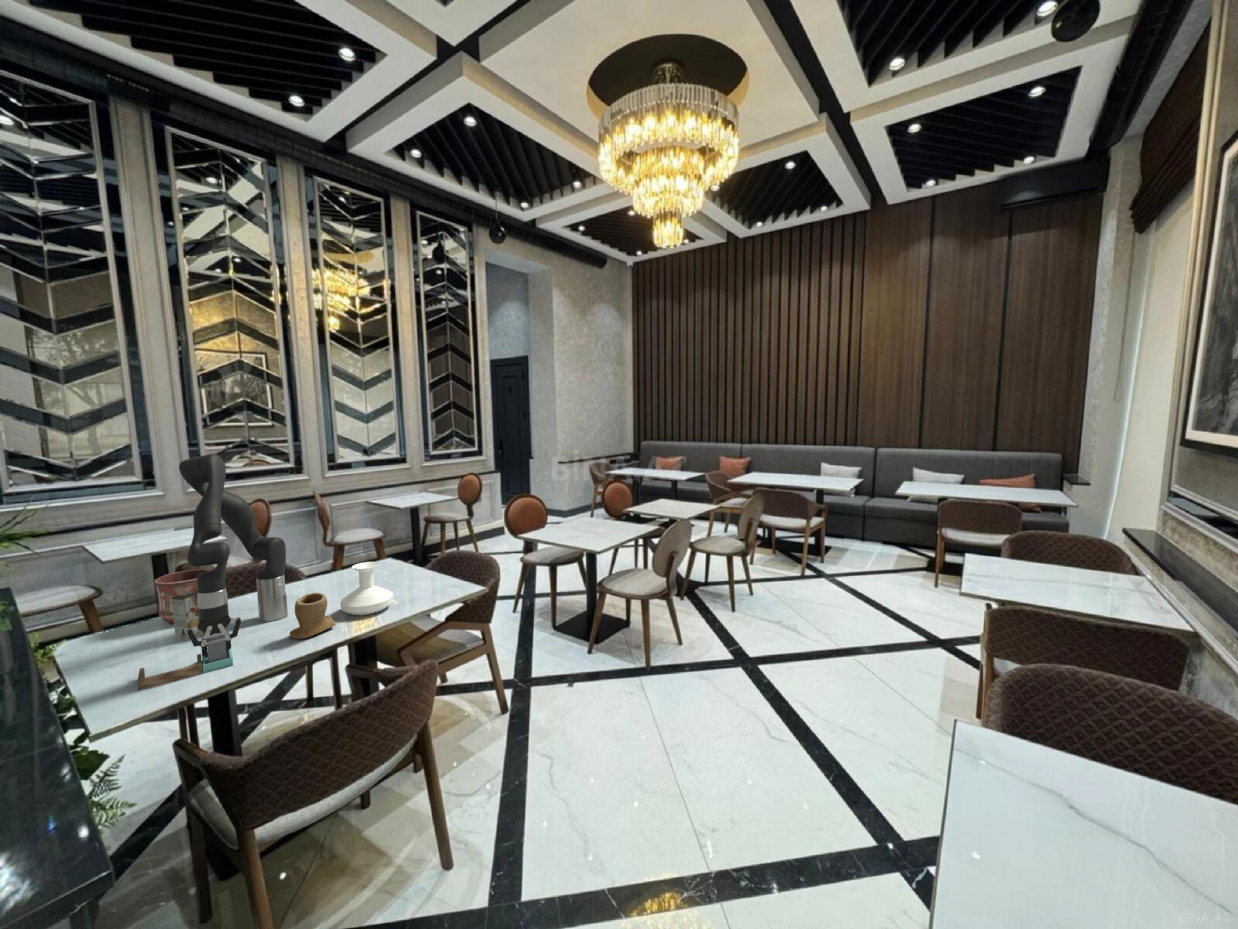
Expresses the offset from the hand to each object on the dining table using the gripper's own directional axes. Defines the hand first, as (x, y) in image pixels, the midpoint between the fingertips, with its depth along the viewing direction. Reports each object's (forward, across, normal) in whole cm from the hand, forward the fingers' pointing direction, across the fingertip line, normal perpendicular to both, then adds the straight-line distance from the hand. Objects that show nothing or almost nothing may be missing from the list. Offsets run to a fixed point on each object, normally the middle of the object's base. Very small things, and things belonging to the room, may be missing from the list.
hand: (216, 653), depth 158 cm
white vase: (+4, -50, -16) cm, 52 cm away
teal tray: (+3, 0, 0) cm, 3 cm away
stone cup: (+4, -29, -5) cm, 29 cm away
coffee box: (+4, +5, -33) cm, 34 cm away
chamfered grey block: (+2, 0, 0) cm, 2 cm away
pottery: (+4, +7, -55) cm, 56 cm away
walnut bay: (+3, +11, 0) cm, 12 cm away
